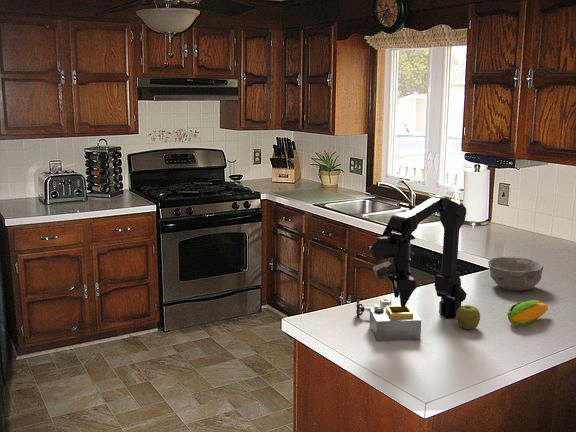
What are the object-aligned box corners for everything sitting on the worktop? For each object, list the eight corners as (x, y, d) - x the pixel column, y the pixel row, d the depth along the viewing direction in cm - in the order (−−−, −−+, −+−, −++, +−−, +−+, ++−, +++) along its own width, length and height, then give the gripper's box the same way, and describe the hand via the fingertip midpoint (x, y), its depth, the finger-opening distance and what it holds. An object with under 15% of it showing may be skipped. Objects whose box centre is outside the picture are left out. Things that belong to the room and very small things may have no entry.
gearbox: (411, 326, 208) (411, 302, 206) (420, 340, 196) (421, 315, 194) (369, 327, 207) (369, 303, 205) (376, 341, 195) (376, 316, 194)
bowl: (475, 284, 251) (476, 260, 249) (514, 277, 260) (515, 254, 258) (513, 299, 233) (515, 273, 231) (554, 291, 241) (555, 266, 239)
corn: (502, 303, 206) (537, 291, 217) (499, 324, 208) (534, 311, 219) (521, 310, 200) (557, 298, 212) (518, 332, 202) (554, 319, 214)
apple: (469, 322, 211) (470, 302, 209) (484, 330, 203) (486, 309, 202) (450, 325, 208) (451, 305, 206) (465, 333, 201) (466, 312, 199)
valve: (390, 315, 218) (356, 314, 219) (391, 297, 217) (356, 296, 218) (392, 321, 212) (356, 321, 213) (392, 303, 211) (357, 302, 212)
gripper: (370, 248, 205) (369, 293, 208) (381, 263, 187) (380, 312, 190) (403, 247, 206) (402, 292, 209) (418, 262, 187) (416, 311, 190)
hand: (399, 302), depth 199 cm, fingers open, 9 cm apart
